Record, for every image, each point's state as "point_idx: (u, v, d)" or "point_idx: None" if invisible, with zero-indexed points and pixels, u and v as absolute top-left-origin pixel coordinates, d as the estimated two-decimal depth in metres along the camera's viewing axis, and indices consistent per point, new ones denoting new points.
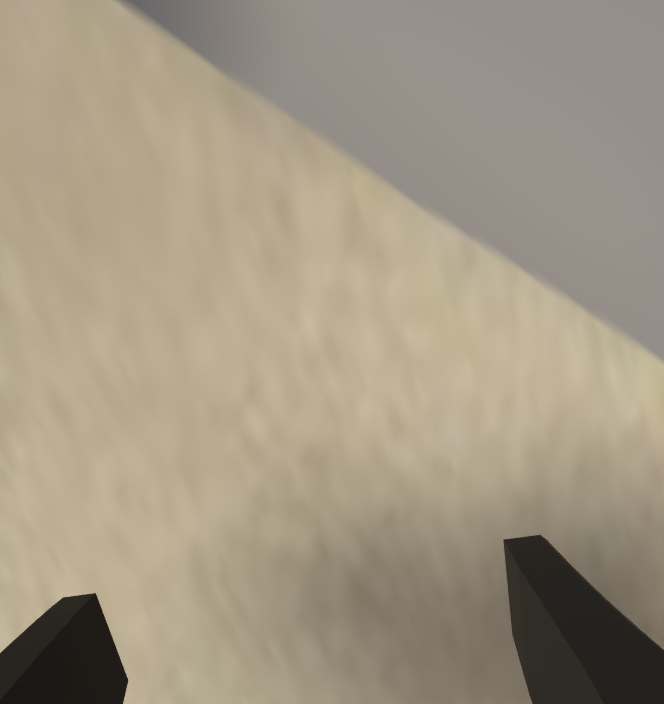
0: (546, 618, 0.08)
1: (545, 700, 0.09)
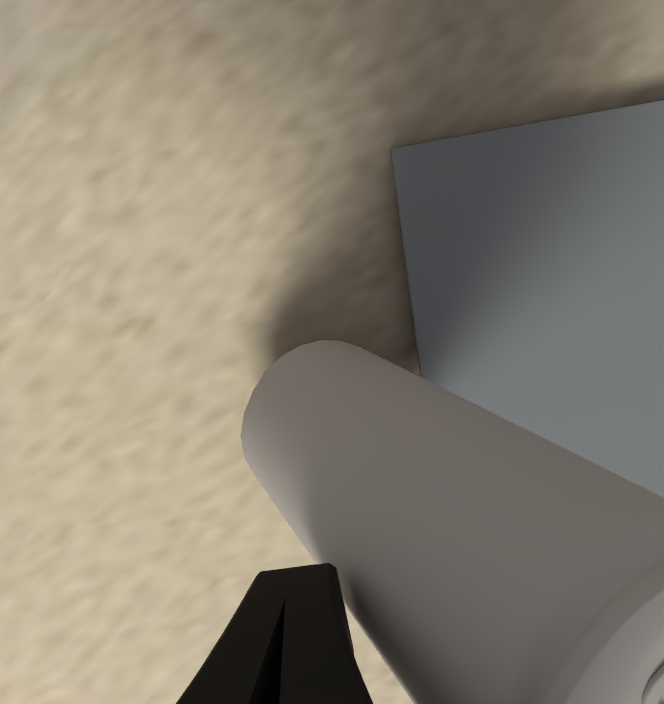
0: None
1: None
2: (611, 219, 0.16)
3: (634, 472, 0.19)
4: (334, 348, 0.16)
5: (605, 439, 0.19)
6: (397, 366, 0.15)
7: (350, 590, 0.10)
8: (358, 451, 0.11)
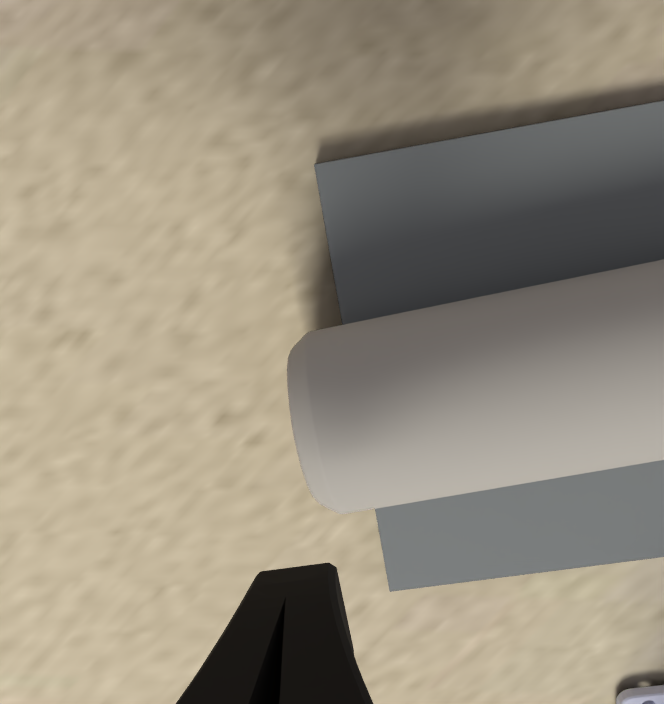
0: None
1: None
2: (533, 233, 0.17)
3: (567, 482, 0.19)
4: None
5: None
6: None
7: (639, 370, 0.13)
8: (554, 299, 0.14)
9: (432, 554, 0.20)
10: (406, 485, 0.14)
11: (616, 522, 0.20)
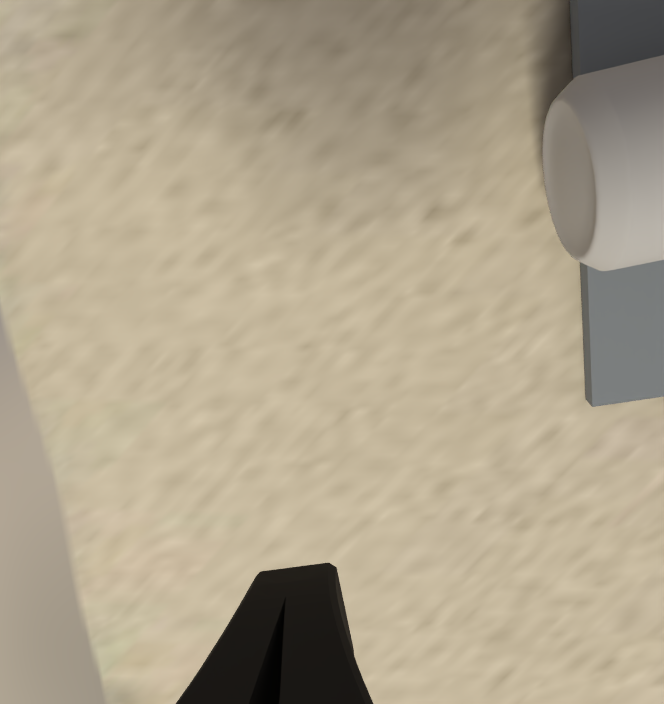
0: None
1: None
2: None
3: None
4: None
5: None
6: None
7: None
8: None
9: (642, 362, 0.19)
10: None
11: None
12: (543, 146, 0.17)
